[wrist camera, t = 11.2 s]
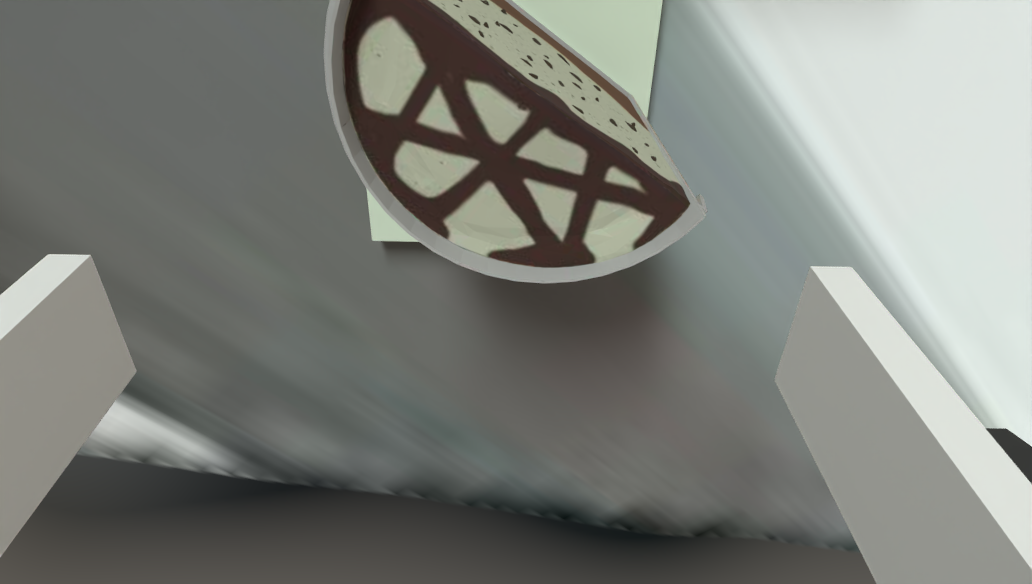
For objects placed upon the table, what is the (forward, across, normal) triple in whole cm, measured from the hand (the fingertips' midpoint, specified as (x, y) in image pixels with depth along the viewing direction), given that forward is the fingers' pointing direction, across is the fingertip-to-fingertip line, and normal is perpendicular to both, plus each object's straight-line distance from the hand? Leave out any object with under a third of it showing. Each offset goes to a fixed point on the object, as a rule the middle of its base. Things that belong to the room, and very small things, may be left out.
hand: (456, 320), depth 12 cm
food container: (+17, 0, 0) cm, 17 cm away
